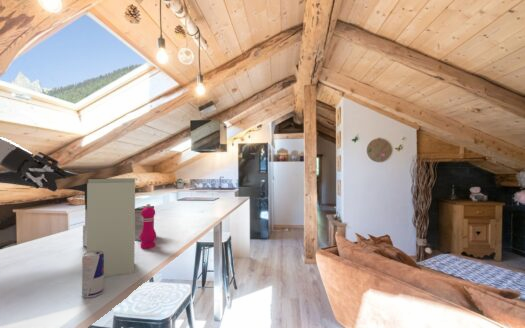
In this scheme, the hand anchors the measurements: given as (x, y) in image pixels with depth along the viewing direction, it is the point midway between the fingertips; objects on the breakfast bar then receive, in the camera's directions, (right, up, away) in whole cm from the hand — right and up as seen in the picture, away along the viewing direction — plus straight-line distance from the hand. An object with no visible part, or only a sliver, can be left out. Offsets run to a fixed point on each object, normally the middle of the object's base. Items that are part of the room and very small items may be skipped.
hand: (61, 182), depth 89 cm
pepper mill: (+15, -32, +33) cm, 48 cm away
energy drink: (+18, -32, -12) cm, 39 cm away
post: (+14, -32, +5) cm, 35 cm away
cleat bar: (+10, +1, +3) cm, 11 cm away
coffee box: (+7, -32, +48) cm, 58 cm away
